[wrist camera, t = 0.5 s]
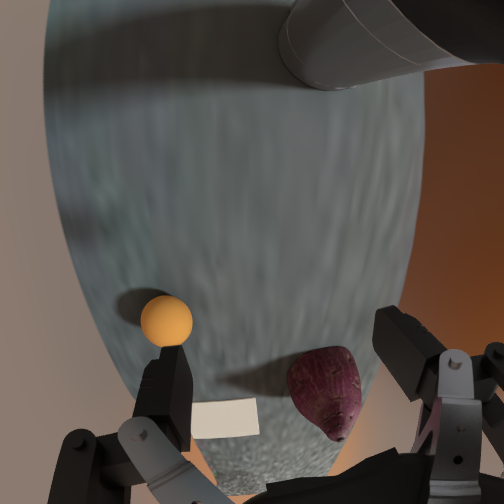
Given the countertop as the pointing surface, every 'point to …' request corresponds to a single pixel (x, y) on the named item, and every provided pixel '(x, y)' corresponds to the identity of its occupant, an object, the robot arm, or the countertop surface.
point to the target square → (224, 418)
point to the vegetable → (327, 389)
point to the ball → (166, 321)
